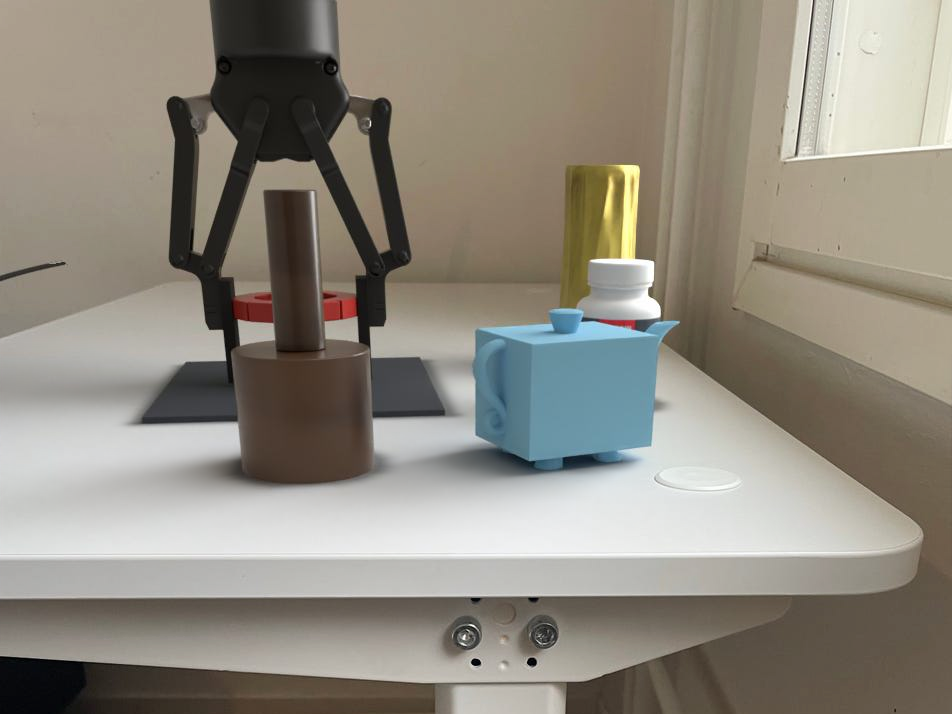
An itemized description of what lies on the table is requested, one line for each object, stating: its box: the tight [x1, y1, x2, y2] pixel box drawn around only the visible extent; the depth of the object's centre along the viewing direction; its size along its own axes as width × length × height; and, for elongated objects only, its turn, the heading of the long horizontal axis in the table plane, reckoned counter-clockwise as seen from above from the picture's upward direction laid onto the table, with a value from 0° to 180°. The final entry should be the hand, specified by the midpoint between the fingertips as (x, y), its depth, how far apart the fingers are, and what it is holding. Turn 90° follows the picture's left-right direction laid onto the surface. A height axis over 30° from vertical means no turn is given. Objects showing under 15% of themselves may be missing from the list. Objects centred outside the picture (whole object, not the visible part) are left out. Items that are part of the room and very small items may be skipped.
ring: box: [232, 290, 358, 324], centre depth 68 cm, size 8×8×1 cm
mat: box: [141, 356, 446, 425], centre depth 70 cm, size 20×18×1 cm
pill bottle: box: [576, 258, 661, 333], centre depth 64 cm, size 5×5×9 cm
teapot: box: [472, 308, 681, 471], centre depth 53 cm, size 12×6×8 cm, turn 116°
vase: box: [558, 164, 641, 309], centre depth 75 cm, size 6×6×14 cm
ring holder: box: [231, 188, 376, 485], centre depth 49 cm, size 7×7×13 cm
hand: (301, 377), depth 70 cm, fingers closed on ring, 8 cm apart
